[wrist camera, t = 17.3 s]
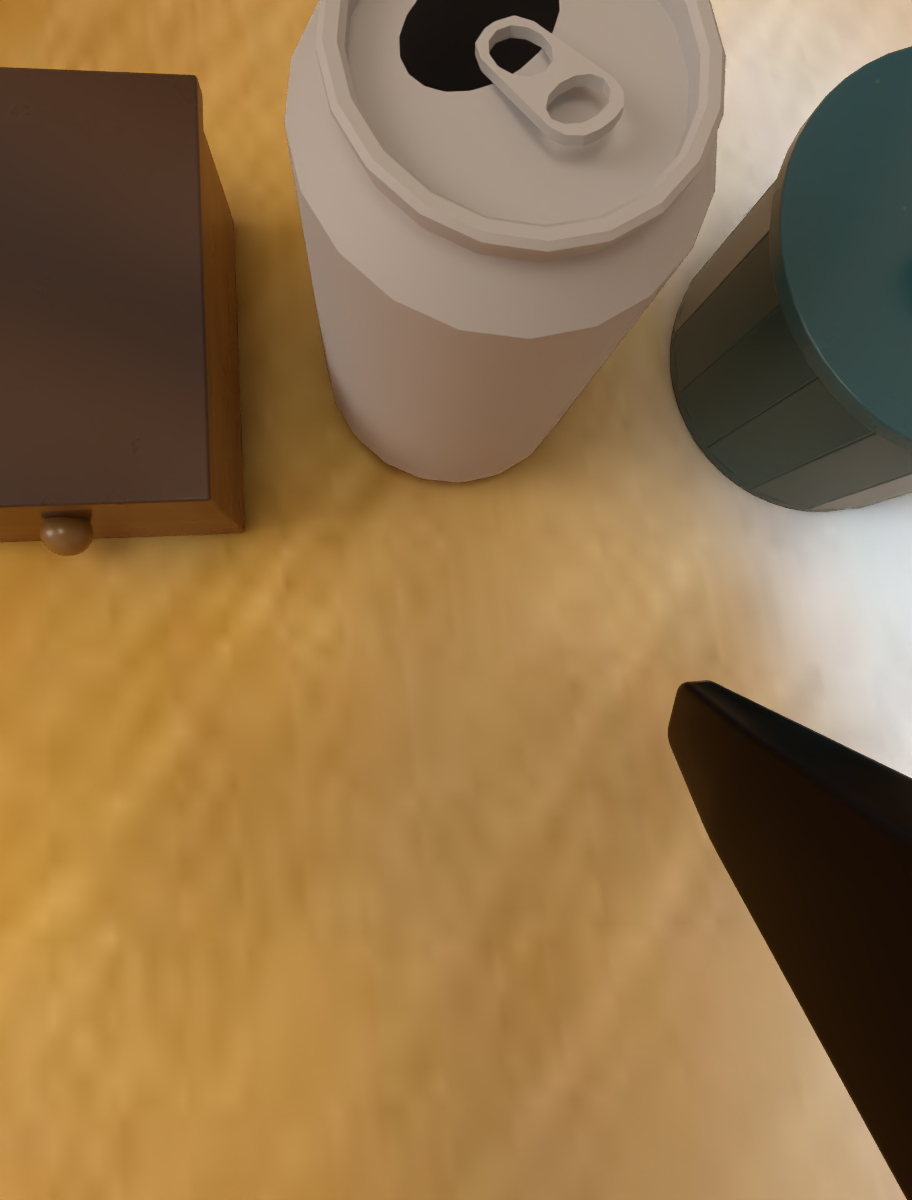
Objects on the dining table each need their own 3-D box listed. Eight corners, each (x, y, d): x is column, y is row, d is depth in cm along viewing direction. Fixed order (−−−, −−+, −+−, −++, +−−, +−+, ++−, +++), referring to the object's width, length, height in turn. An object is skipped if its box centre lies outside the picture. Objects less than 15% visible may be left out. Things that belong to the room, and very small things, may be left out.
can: (459, 219, 22) (554, -286, 10) (607, 394, 22) (870, 93, 10) (278, 355, 21) (151, -34, 9) (434, 537, 21) (509, 387, 9)
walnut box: (253, 562, 20) (211, 530, 15) (-46, 575, 19) (-199, 545, 14) (240, 214, 21) (196, 73, 16) (-47, 209, 20) (-191, 57, 15)
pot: (957, 507, 23) (1173, 451, 17) (682, 517, 22) (805, 461, 16) (924, 232, 24) (1119, 81, 18) (657, 227, 23) (764, 63, 17)
